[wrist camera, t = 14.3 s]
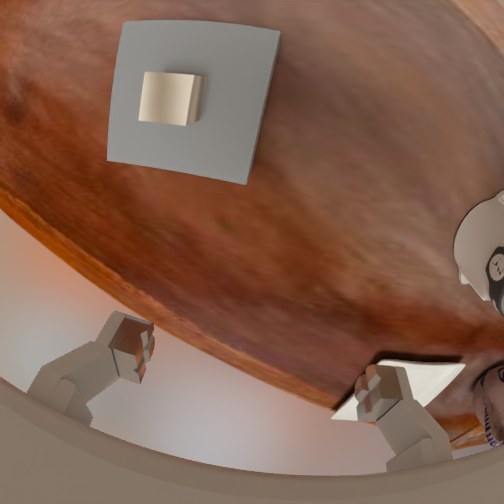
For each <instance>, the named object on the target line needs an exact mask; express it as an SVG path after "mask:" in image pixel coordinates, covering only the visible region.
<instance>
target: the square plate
mask: <svg viewBox="0 0 504 504" xmlns="http://www.w3.org/2000/svg"><path fill="white" fill-rule="evenodd" d="M376 365H389V366H399V367H404V368H405V369H406V372H407V376H408V379H409V383H410V387H411V390H412V394H413V398H414V400H417V401H418V402H419V403H420V404H421V405H422V406H423V407H424V406H426V405H427V404H428V403H429V402H430V401H431V400H433V399H434V398H435V397H436V396H437V395H438V394H439V393H440V392H441V391H442V390H443V389H444V388H445V387H446V386H447V385H448V384H449V383H450V382H451V381H452V380H453V379H454V378H455V377H456V376H457V375H458V374H459V373H460V371H461V370H462V369H463V368H464V367H465V364H462V363H454V362H415V361H405V360H397V359H382V360H380V361H379V362H378V363H377V364H376ZM358 403H359V402H358V401H357V400H356V398H355V393H353V394H352V395H351V396H350V397H349V398H348V399H347V400H346V401H345V402H344V403H343V404H342V405H341V406H340V407H339V408H338V410H337V411H336V412H335V413H334V415H333V416H332V417H331V419H338V420H358V418H357V410H356V407H357V405H358Z"/></svg>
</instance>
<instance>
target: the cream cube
mask: <svg viewBox="0 0 504 504" xmlns="http://www.w3.org/2000/svg"><path fill="white" fill-rule="evenodd" d="M206 83H207V77H205V76H197V75H188V74H176V73H161V72H145V74H144V81H143V88H142V95H141V102H140V111H139V120H138V121H148V122H158V123H166V124H174V125H181V126H187V125H189V124H192V123H194V122H197V121H199V120H200V116H201V110H202V104H203V99H204V93H205V88H206Z"/></svg>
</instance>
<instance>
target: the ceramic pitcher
mask: <svg viewBox="0 0 504 504" xmlns="http://www.w3.org/2000/svg"><path fill="white" fill-rule="evenodd" d="M473 409H474V411H475V414H476V416H477V418H478V419H479V421H480V422H481V424H482V425H483V427H484V428H485V432H486V437H487V440H488V442H489V444H490V445H491V446H493V447H494V448H495V447H497V446H500V445H504V366H498V367H496V368H494V369H491V370H489V371H487V372H486V373H485V374H484V375H483V376H482V377H481V378H480V380H479V381H478V382H477V384H476V386H475V389H474V394H473Z"/></svg>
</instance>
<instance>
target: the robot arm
mask: <svg viewBox="0 0 504 504" xmlns="http://www.w3.org/2000/svg"><path fill="white" fill-rule="evenodd" d="M454 257H455V260H456V263H457V265H458V268H459V274H458V277H459V281H460V282H461V283H462V284H470V285H471V286H472V287H473V288H474V290H475V291H476V292H477V293H478V294H479V296H480V297H481V298H482V299H483V300H484V301H485V300H489V301H490V300H491V301H492V302H493V305H494V306H495V308H496V309H497V310H498V311H499V312H500V314H501V315H502V316H504V190H502V191H501V192H500V193H498V194H497V195H496V196H495V197H494V198H492V199H490V200H487V201H484V202H482V203H480V204H479V205H477V206H476V207H475V208H473V209H472V210H471V211H470V212H469V213H468V215H467V216H466V217H465V219H464V220H463V222H462V223H461V225H460V227H459V229H458V232H457V235H456V238H455V243H454ZM153 330H154V324H153V323H151V322H148V321H145V320H142V319H139V318H136V317H133V316H130V315H127V314H124V313H121V312H118V311H114V312H113V313H112V314H111V315H110V317H109V319H108V320H107V322H106V324H105V325H104V327H103V329H102V330H101V332H100V334H99V335H98V337H97V339H96V340H95V342H92V341H90V342H88V343H86V344H84V345H82V346H81V347H79V348H77V349H75V350H73V351H71V352H69V353H67V354H65V355H64V356H61V357H59V358H57V359H55V360H54V361H51V362H50V363H48V364H46V365H44V366H42V367H41V369H40V371H39V372H38V374H37V376H36V377H35V379H34V381H33V382H32V384H31V386H30V388H29V389H28V391H27V393H25V392H23V391H21V390H19V389H18V388H17V387H15V386H14V385H12V384H10V383H9V382H7V381H6V380H4V379H3V378H2V377H0V504H504V445H500V446H497V447H495V448H492V449H489V450H486V451H483V452H480V453H476V454H473V455H470V456H466V457H463V458H459V459H455V460H453V457H452V452H451V447H450V442H449V438H448V434H447V433H446V432H445V431H444V430H443V429H442V428H441V426H440V425H439V424H438V423H437V422H436V421H435V420H434V419H433V417H432V416H431V415H430V414H429V413H428V412H427V411H426V410H425V408H424V407H423V406H422V405H421V404H420V403H419V402H418V401H417V400H414V398H413V394H412V390H411V387H410V383H409V379H408V376H407V372H406V369H405V368H404V367H399V366H389V365H375V364H371V365H369V366H368V367H367V368H366V374H364V375H362V376H360V377H359V379H358V380H357V382H356V385H355V391H354V393H355V398H356V400H357V401H358V402H359V403H358V405H357V407H356V410H357V418H358V421H366V422H376V424H377V426H378V427H379V429H380V430H381V432H382V434H383V435H384V437H385V438H386V440H387V441H388V443H389V445H390V446H391V447H392V449H393V451H394V452H395V454H396V456H395V457H394V458H392V459H390V460H389V461H388V462H387V463H386V466H387V472H384V473H374V474H361V475H340V476H308V475H286V474H273V473H263V472H254V471H247V470H239V469H233V468H227V467H221V466H216V465H211V464H205V463H201V462H196V461H192V460H187V459H184V458H180V457H176V456H172V455H168V454H164V453H161V452H158V451H155V450H151V449H148V448H145V447H142V446H139V445H136V444H133V443H130V442H127V441H124V440H122V439H119V438H116V437H114V436H111V435H109V434H106V433H104V432H101V431H99V430H97V429H94V428H92V427H90V424H91V421H92V419H93V416H92V414H91V412H90V411H89V408H88V407H87V405H86V403H87V402H88V401H89V400H91V399H92V398H93V397H95V396H96V395H98V394H99V393H100V392H102V391H103V390H104V389H106V388H107V387H109V386H110V385H111V384H113V383H114V382H115V381H117V380H118V379H119V377H120V378H123V379H126V380H129V381H132V382H136V383H139V384H141V381H142V379H143V376H144V374H145V371H146V366H145V363H147V362H148V361H150V359H151V356H152V353H153V350H154V344H155V340H154V339H155V338H154V336H153V335H152V333H153Z"/></svg>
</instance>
